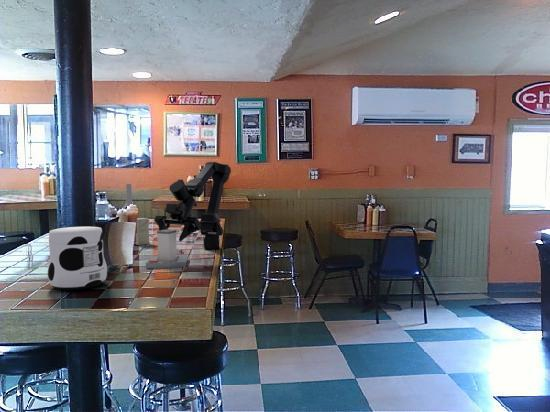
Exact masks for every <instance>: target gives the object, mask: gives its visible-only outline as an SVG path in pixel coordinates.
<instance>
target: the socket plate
mask: <svg viewBox="0 0 550 412" xmlns="http://www.w3.org/2000/svg"><path fill="white" fill-rule="evenodd" d="M188 256H189V255H188V254H177V261H158V255H151V256H150V257H149V258H148V260H147V261H146V262H145V269H146V270H147V269H176V268H180V269H181V268H185V267H186V265H187V263H188V261H189V257H188Z"/></svg>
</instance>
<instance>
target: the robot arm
mask: <svg viewBox="0 0 550 412" xmlns="http://www.w3.org/2000/svg"><path fill="white" fill-rule="evenodd" d="M231 169H232V168H231V167H230V166H229V164H226V163H225V164H224V163H219V162H217V161H207V162H205V164H204V166H203V168H202V169H201V170H200V171H199V172H198V174H197V175H196V176H195V177H194V178H192V179H190V180H188V181H187V182H186V183H185V182H184V180H183V179H180V178H179V179H177V180H176V181H174V182H173V183H171V184H169V185H170V186H169V188H168V189H169V191H170V193H171V194H172V196H173V197H174V198H175V201H177V202H178V203H170V202H169V203H166V205H165V209H164V212H165V213H168V215H169V218H167V216H166V215H163V214H161V215H160V214H157V215H155V217H154V219H153V221H154V223H156V225H157V227H158V231H160V230H165V229H167V230H169V228H170V226H171V225H177V226H183V228H182V231H181V233H180V234H179V239H178V242H182V241H184V239H186V238H187V237H189V236H191V235H192V234H193V233H197V231H200V234H201V236H204V238H203V248H204V250H205V251H207V250H208V251H209V250H212V251H213V250H220V249H221V245H220V237H221V236H223V235H224V228H223V226H222V225H221V218H220V216H219V211H220V204H221V200H222V195H223V190H224V186H225V183H227V181H228V180H229V178H230V174H231V173H232V171H231ZM210 179H212V185H211V190H210V195H209V201H208V204H207V210H206V212H205V213H202V214H201V216H200V220H199V219H198V217H197V216H192V213H191V212H192V210H193V208H194V207H198V203H197V201H196V199H195V198H200V197H201V196H202V195H203V194H204V191H205V185H206V184H207V183H208V182H209V180H210Z"/></svg>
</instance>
